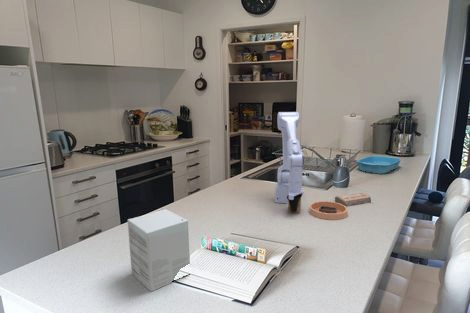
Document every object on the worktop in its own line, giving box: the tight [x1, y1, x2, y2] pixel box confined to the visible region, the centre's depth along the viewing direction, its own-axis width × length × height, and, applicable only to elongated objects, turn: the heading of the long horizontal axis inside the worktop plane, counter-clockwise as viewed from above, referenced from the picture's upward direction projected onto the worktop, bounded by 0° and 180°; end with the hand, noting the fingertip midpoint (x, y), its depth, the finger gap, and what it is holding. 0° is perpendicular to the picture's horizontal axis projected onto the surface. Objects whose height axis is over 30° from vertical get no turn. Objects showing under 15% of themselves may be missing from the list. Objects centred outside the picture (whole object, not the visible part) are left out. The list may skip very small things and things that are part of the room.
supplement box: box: [127, 208, 191, 292], centre depth 96 cm, size 13×13×18 cm
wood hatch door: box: [287, 198, 302, 214], centre depth 143 cm, size 5×2×7 cm, turn 66°
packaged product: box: [329, 192, 374, 207], centre depth 154 cm, size 18×5×10 cm
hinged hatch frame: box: [319, 206, 337, 213], centre depth 141 cm, size 7×5×2 cm, turn 66°
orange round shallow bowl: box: [308, 200, 349, 221], centre depth 141 cm, size 16×16×4 cm
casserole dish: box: [356, 155, 402, 175], centre depth 222 cm, size 37×22×7 cm, turn 136°
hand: (294, 210), depth 143 cm, fingers closed on wood hatch door, 2 cm apart
